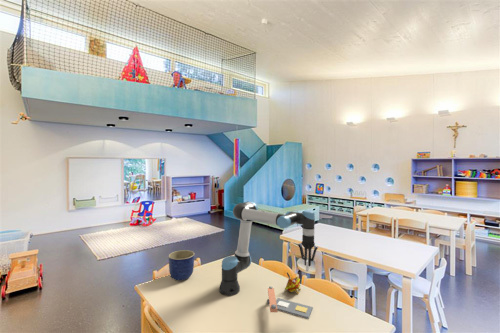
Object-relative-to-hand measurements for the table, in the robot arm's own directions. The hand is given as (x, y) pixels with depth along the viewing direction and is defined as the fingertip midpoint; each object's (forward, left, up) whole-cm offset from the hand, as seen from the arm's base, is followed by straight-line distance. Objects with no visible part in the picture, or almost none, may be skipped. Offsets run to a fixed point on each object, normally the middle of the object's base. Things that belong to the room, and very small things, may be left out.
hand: (307, 270), depth 162 cm
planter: (-102, -5, -24) cm, 105 cm away
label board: (-8, -6, -24) cm, 26 cm away
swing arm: (-18, -16, -23) cm, 33 cm away
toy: (-14, +16, -24) cm, 33 cm away
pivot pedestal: (-23, -6, -24) cm, 34 cm away
